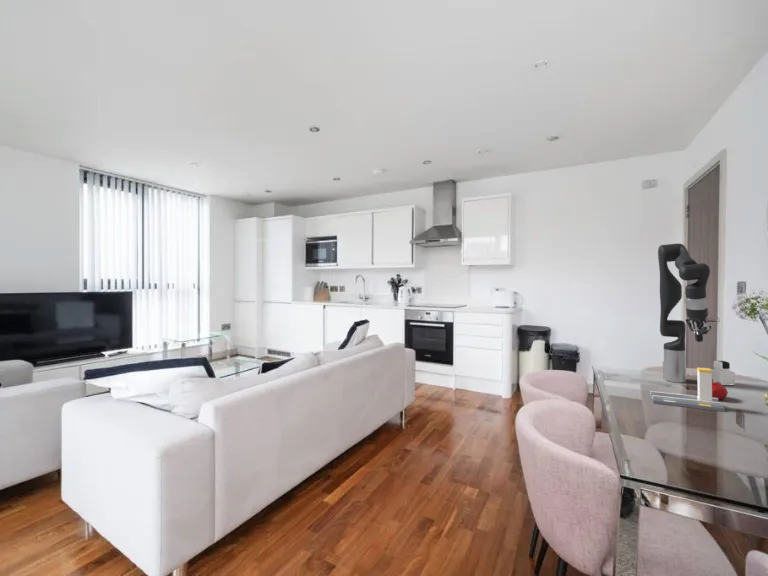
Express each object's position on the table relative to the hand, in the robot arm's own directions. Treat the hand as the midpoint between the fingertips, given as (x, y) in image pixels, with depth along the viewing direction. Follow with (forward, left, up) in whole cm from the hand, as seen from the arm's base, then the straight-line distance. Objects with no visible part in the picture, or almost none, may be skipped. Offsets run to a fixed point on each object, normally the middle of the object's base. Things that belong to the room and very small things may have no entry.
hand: (699, 341), depth 165 cm
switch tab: (+10, -6, -25) cm, 28 cm away
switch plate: (+6, -12, -27) cm, 30 cm away
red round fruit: (0, +6, -27) cm, 28 cm away
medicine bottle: (-20, +29, -27) cm, 44 cm away
